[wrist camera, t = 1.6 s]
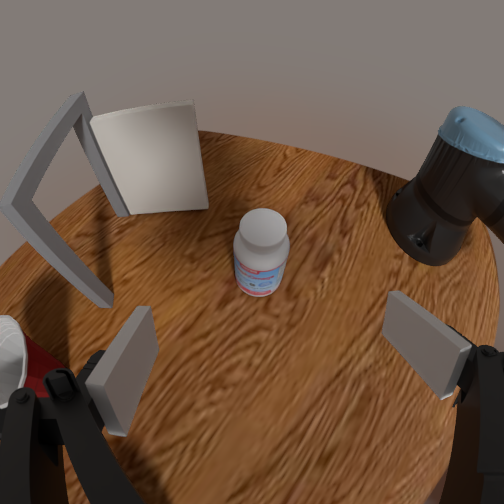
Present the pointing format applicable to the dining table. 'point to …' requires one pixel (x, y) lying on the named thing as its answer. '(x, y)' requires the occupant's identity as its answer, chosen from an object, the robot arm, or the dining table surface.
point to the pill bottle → (260, 251)
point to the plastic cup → (21, 361)
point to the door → (154, 156)
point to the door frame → (25, 185)
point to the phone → (2, 419)
